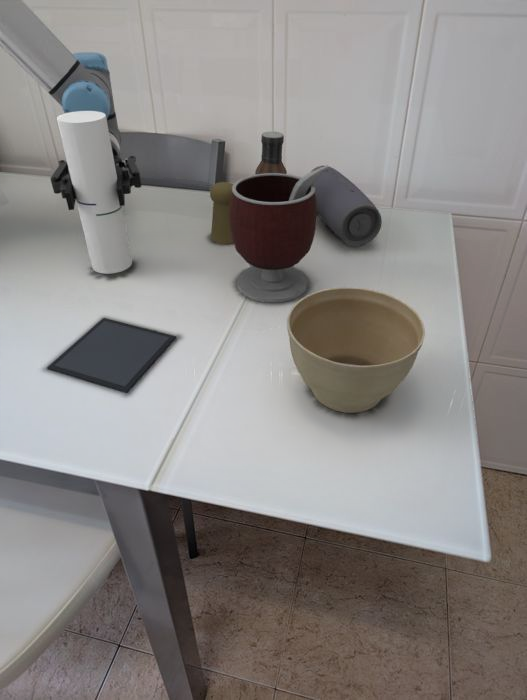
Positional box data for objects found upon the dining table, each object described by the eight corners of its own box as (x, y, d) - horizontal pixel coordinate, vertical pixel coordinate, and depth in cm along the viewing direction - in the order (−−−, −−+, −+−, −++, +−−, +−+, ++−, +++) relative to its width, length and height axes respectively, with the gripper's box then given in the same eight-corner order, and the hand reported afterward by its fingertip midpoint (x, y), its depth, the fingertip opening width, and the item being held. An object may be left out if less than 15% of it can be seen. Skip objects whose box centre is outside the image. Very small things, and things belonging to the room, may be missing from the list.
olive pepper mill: (219, 246, 98) (216, 192, 91) (205, 235, 102) (201, 182, 95) (245, 239, 100) (244, 186, 93) (231, 228, 104) (229, 176, 97)
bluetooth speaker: (380, 249, 97) (388, 200, 91) (335, 255, 95) (341, 204, 89) (338, 205, 114) (343, 161, 108) (300, 209, 112) (302, 164, 106)
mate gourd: (237, 308, 81) (232, 187, 68) (228, 267, 91) (223, 156, 79) (329, 300, 82) (341, 181, 70) (310, 261, 93) (318, 151, 81)
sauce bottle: (252, 242, 99) (251, 138, 87) (254, 229, 104) (253, 128, 92) (284, 243, 99) (288, 139, 87) (285, 229, 104) (288, 129, 92)
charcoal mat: (47, 369, 69) (46, 367, 69) (103, 319, 78) (103, 317, 78) (126, 393, 65) (126, 391, 65) (176, 337, 74) (175, 335, 74)
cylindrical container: (99, 253, 93) (67, 110, 78) (137, 255, 93) (112, 111, 77) (86, 272, 88) (48, 122, 72) (125, 274, 87) (96, 123, 72)
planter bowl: (307, 340, 74) (311, 276, 67) (417, 367, 69) (433, 301, 62) (266, 412, 62) (266, 344, 56) (394, 450, 57) (412, 381, 51)
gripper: (155, 170, 99) (162, 216, 82) (50, 178, 96) (34, 227, 78) (149, 131, 95) (156, 171, 77) (39, 137, 91) (20, 180, 74)
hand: (95, 199), depth 78 cm, fingers closed on cylindrical container, 7 cm apart
